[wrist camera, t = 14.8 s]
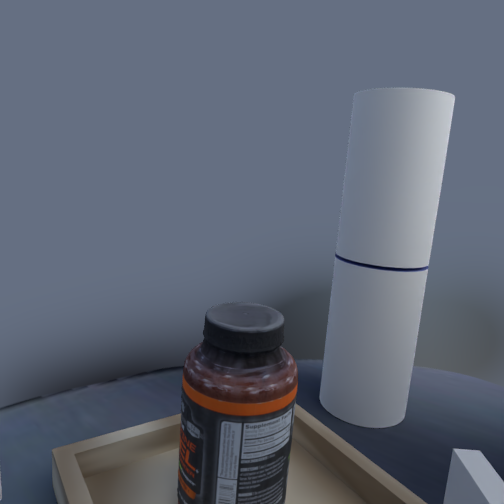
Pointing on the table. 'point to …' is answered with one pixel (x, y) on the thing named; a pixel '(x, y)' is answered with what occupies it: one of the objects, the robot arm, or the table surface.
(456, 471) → the robot arm
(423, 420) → the table surface
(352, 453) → the tray
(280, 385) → the supplement bottle
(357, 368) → the cylindrical container
